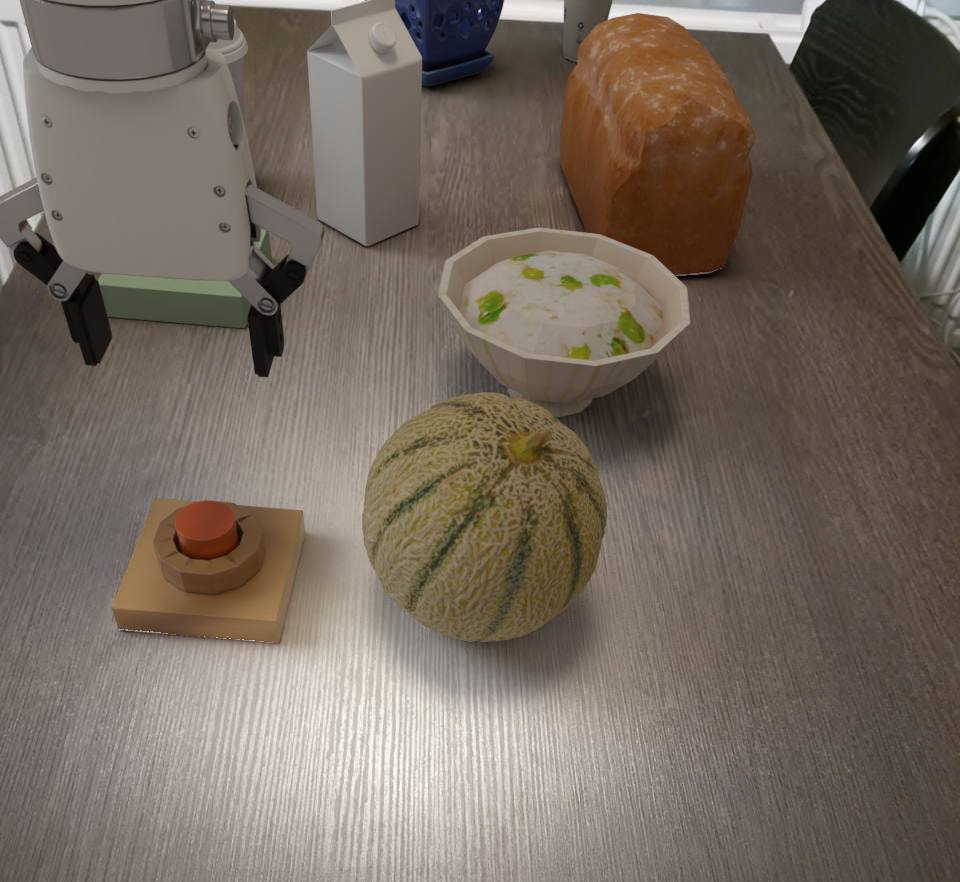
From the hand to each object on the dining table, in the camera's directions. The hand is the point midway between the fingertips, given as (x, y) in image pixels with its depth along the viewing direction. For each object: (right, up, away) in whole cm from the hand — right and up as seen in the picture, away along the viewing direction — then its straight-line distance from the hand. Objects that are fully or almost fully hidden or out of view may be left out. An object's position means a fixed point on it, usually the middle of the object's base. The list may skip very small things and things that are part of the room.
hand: (183, 358), depth 56 cm
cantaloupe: (+17, -14, +8) cm, 23 cm away
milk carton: (+6, +24, +39) cm, 46 cm away
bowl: (+23, +4, +23) cm, 33 cm away
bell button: (0, -10, +4) cm, 11 cm away
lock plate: (-8, +15, +29) cm, 34 cm away
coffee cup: (-9, +29, +41) cm, 51 cm away
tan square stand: (0, -13, +7) cm, 14 cm away
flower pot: (+11, +55, +65) cm, 85 cm away
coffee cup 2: (+31, +60, +71) cm, 98 cm away
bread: (+34, +28, +44) cm, 62 cm away
